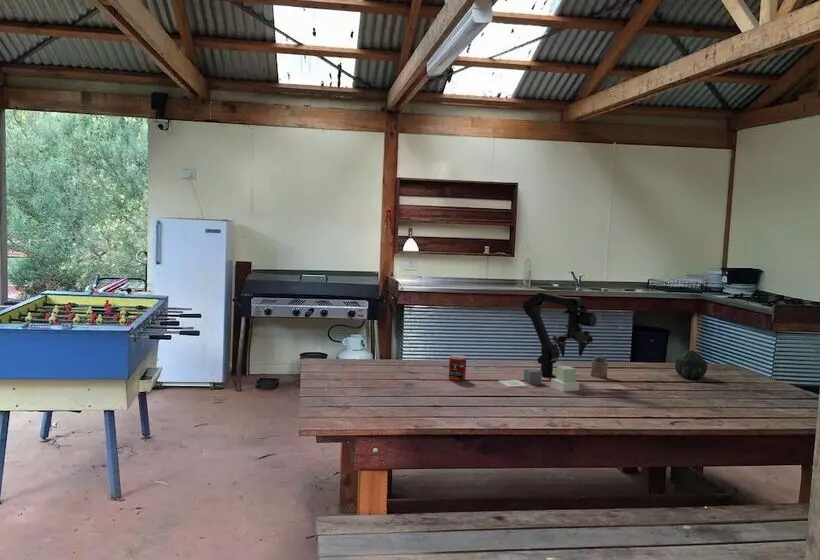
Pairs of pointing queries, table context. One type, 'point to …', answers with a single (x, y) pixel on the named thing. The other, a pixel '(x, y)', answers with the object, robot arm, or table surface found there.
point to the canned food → (457, 368)
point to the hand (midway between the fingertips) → (571, 356)
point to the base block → (565, 385)
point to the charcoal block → (532, 376)
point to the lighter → (599, 367)
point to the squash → (691, 365)
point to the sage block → (566, 374)
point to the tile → (513, 383)
